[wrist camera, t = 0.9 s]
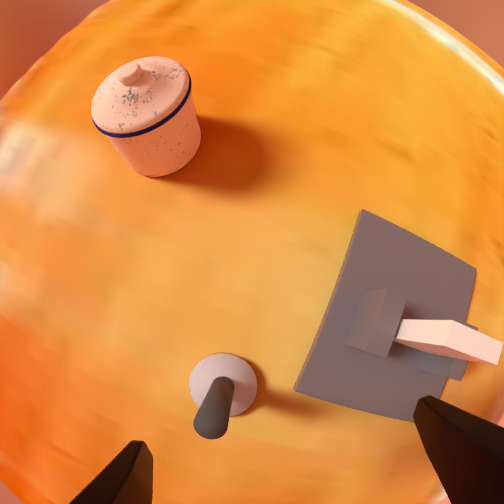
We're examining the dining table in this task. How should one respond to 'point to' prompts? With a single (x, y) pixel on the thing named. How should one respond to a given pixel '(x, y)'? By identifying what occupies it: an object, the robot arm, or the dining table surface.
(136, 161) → the teacup with lid
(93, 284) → the dining table surface
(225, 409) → the post
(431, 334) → the block
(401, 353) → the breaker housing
